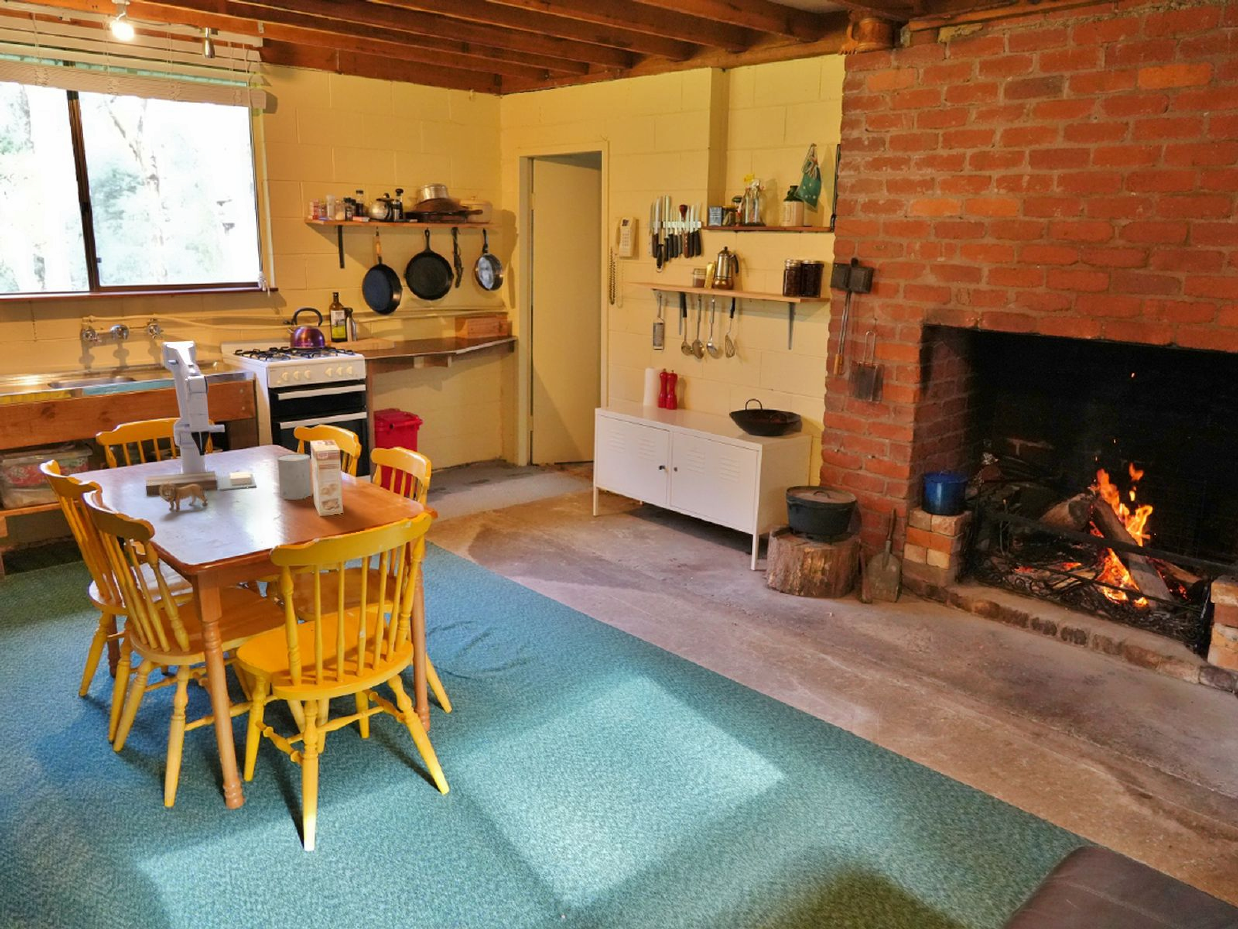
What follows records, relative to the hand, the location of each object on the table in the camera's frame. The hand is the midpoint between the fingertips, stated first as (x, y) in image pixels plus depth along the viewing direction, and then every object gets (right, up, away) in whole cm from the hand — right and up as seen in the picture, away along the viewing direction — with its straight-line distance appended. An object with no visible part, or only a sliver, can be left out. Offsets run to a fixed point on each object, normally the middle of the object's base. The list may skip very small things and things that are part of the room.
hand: (202, 454), depth 300 cm
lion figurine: (+6, -16, -25) cm, 31 cm away
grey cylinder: (+34, -13, -9) cm, 37 cm away
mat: (+10, -9, +3) cm, 14 cm away
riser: (-5, -10, -4) cm, 12 cm away
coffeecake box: (+48, -16, -22) cm, 55 cm away
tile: (+11, -7, +3) cm, 13 cm away
